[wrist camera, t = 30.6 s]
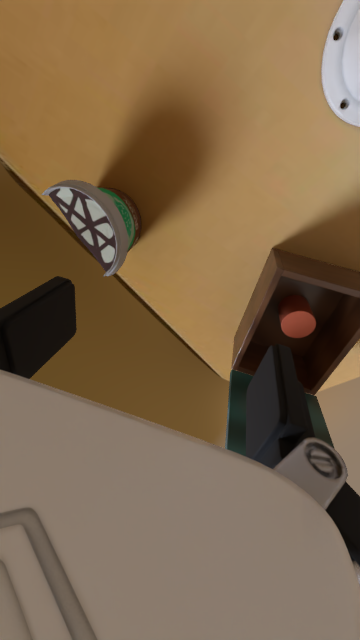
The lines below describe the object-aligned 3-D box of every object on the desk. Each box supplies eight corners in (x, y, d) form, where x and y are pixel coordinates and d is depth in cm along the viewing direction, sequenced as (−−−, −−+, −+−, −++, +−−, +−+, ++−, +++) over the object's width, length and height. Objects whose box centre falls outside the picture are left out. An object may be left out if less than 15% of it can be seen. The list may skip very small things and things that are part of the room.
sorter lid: (224, 492, 22) (207, 519, 25) (368, 545, 21) (334, 567, 24) (232, 368, 37) (221, 393, 40) (316, 396, 36) (299, 419, 39)
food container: (164, 237, 38) (140, 258, 30) (135, 256, 41) (105, 280, 32) (115, 157, 34) (71, 154, 26) (85, 184, 37) (38, 190, 28)
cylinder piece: (271, 308, 39) (274, 324, 35) (295, 289, 37) (300, 304, 32) (291, 325, 40) (296, 343, 36) (315, 307, 37) (323, 325, 33)
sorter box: (271, 247, 35) (277, 267, 28) (362, 272, 34) (390, 299, 27) (234, 337, 44) (231, 368, 38) (304, 359, 43) (314, 395, 36)
